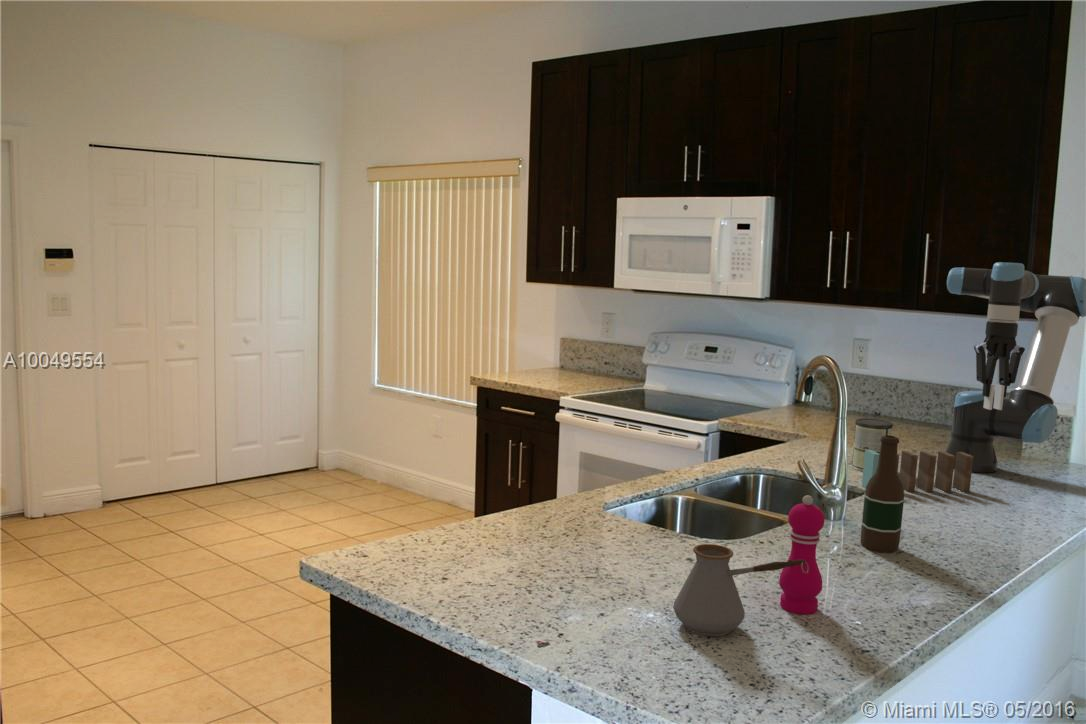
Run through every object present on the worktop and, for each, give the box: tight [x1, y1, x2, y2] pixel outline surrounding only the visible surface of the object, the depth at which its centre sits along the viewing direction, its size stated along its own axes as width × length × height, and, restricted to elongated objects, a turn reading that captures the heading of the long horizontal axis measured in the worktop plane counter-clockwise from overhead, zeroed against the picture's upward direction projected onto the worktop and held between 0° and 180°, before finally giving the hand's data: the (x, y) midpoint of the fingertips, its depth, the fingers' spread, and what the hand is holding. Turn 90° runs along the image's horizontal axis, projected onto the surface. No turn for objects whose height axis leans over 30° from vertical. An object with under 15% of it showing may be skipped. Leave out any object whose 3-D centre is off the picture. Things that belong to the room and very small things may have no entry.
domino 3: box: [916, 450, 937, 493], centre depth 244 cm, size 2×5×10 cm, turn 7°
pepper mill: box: [778, 494, 825, 615], centre depth 157 cm, size 7×7×20 cm
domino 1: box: [861, 450, 879, 490], centre depth 242 cm, size 2×5×10 cm, turn 7°
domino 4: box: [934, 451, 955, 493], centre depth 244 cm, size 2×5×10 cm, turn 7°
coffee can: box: [851, 417, 894, 473], centre depth 264 cm, size 10×10×14 cm
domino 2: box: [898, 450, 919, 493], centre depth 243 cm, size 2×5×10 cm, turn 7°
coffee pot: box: [672, 543, 809, 637], centre depth 145 cm, size 21×12×15 cm, turn 53°
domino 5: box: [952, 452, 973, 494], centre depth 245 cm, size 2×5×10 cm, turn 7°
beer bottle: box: [860, 435, 905, 554], centre depth 192 cm, size 8×8×24 cm
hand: (992, 408), depth 243 cm, fingers open, 2 cm apart
